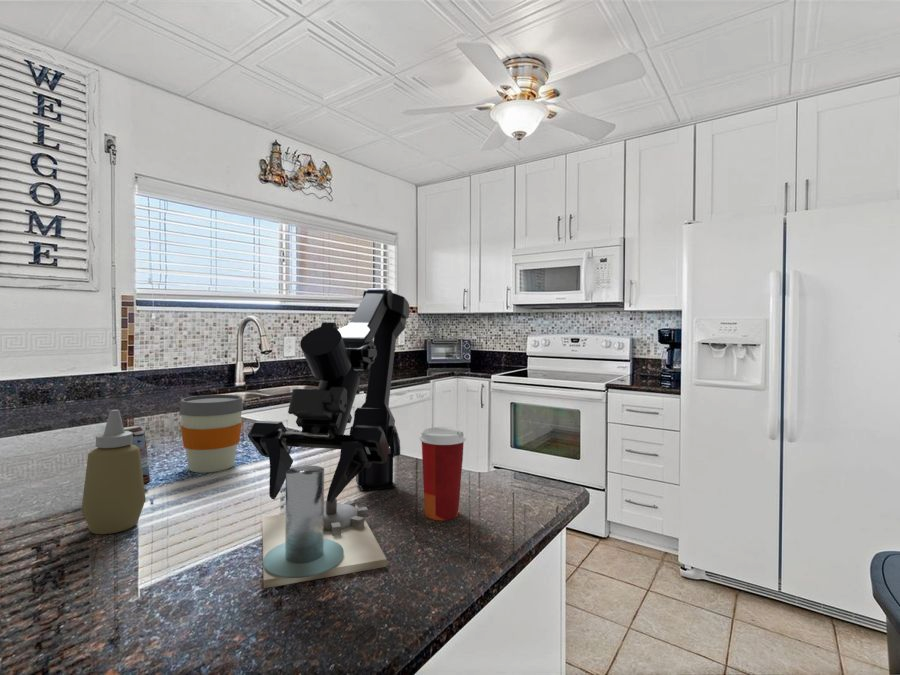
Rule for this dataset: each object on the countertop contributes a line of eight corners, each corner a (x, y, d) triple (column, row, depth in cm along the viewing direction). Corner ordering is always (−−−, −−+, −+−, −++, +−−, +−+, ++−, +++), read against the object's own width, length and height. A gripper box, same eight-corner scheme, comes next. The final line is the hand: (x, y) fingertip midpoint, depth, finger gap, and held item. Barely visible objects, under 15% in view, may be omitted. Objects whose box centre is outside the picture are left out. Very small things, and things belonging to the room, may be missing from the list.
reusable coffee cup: (254, 464, 107) (255, 397, 106) (200, 478, 96) (200, 405, 96) (222, 455, 114) (222, 392, 113) (167, 468, 103) (167, 399, 103)
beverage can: (130, 498, 85) (130, 431, 85) (96, 494, 87) (96, 429, 86) (158, 486, 91) (159, 424, 91) (126, 483, 93) (126, 422, 92)
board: (359, 509, 82) (360, 484, 82) (393, 569, 62) (393, 537, 62) (262, 521, 76) (262, 495, 76) (263, 592, 56) (264, 557, 56)
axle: (314, 543, 66) (314, 463, 66) (329, 555, 62) (330, 471, 62) (279, 553, 63) (280, 469, 62) (293, 567, 59) (294, 478, 59)
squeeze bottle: (103, 517, 77) (103, 405, 76) (156, 516, 77) (156, 406, 77) (67, 539, 69) (67, 415, 68) (126, 538, 69) (126, 415, 69)
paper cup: (469, 509, 83) (471, 428, 82) (456, 526, 75) (457, 438, 75) (428, 502, 85) (429, 425, 85) (410, 519, 78) (411, 433, 78)
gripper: (255, 363, 67) (204, 464, 56) (384, 367, 64) (356, 473, 54) (282, 409, 75) (241, 505, 64) (397, 414, 72) (375, 515, 62)
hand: (300, 499), depth 61 cm, fingers open, 7 cm apart
